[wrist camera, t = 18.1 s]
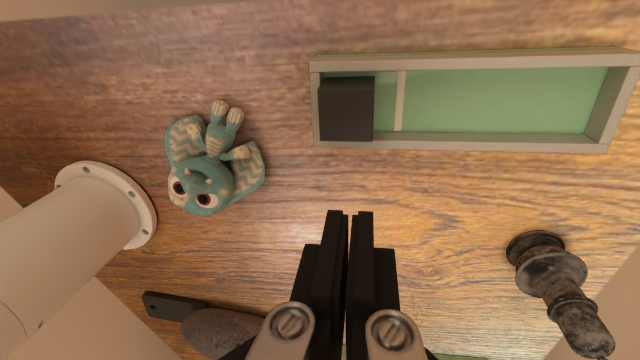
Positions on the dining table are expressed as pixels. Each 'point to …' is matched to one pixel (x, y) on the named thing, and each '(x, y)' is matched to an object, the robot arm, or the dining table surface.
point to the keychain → (170, 306)
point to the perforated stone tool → (219, 330)
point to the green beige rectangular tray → (489, 98)
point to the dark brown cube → (346, 108)
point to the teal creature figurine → (211, 162)
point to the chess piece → (560, 290)
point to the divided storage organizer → (442, 358)
